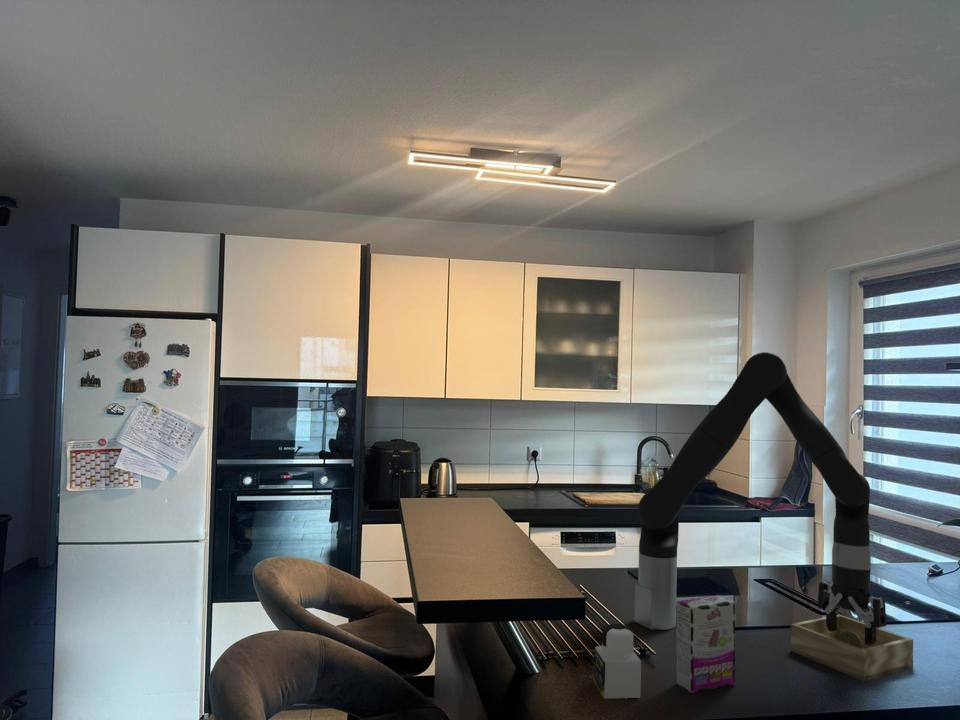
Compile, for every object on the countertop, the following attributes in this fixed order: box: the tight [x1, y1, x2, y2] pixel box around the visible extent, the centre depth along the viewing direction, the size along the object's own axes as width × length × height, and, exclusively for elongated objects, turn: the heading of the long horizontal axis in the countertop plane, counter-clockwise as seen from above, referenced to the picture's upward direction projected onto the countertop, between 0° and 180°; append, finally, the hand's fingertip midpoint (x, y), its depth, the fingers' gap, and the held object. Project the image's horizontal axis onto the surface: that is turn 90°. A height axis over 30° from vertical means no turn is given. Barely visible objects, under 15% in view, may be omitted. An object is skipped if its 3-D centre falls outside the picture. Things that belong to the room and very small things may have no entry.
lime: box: [837, 631, 862, 649], centre depth 146 cm, size 4×5×5 cm
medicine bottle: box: [593, 623, 642, 700], centre depth 127 cm, size 7×7×12 cm
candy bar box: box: [675, 594, 736, 694], centre depth 131 cm, size 11×5×16 cm, turn 114°
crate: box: [790, 613, 914, 683], centre depth 146 cm, size 17×17×6 cm
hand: (850, 637), depth 146 cm, fingers open, 8 cm apart
